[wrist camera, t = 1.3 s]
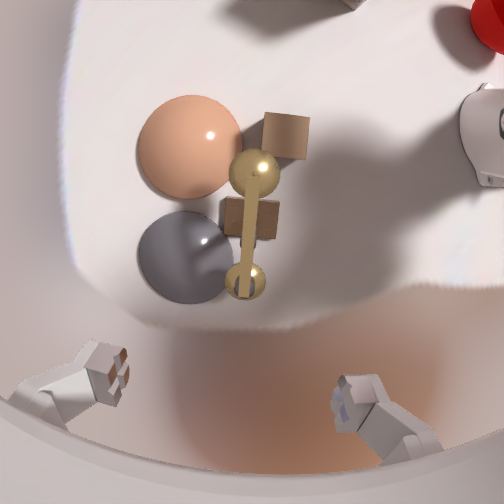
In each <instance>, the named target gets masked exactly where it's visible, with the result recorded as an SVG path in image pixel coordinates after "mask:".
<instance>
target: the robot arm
mask: <svg viewBox="0 0 504 504" xmlns="http://www.w3.org/2000/svg"><path fill="white" fill-rule="evenodd" d="M460 134H461V139H462V143H463V146H464V149H465V152H466V154H467V156H468V158H469V160H470V161H471V163H472V164H473V166H474V168H475V170H476V174H477V178H478V181H479V184H480V185H482V186H494V187H504V89H496V88H495V87H494V86H493V85H492V84H490V83H484V84H483V85H482V86H481V88H480V90H479V91H477V92H474V93H472V94H470V95H469V96H468V97H467V98H466V99H465V101H464V103H463V105H462V108H461V112H460ZM126 358H127V351H126V349H125V348H122V347H118V346H115V345H111V344H108V343H104V342H100V341H96V340H93V339H90V340H88V341H87V342H86V344H85V345H84V346H83V348H82V349H81V351H80V352H79V353H78V355H77V356H76V357H75V359H74V360H73V361H72V363H66V364H63V365H61V366H58V367H56V368H53V369H51V370H49V371H46V372H44V373H41V374H39V375H36V376H34V377H32V378H29V379H26V380H24V381H22V382H21V384H20V385H19V386H18V387H17V389H16V390H15V391H14V393H13V394H12V395H11V397H10V398H9V400H8V401H7V400H6V399H4V398H3V397H1V396H0V504H504V429H499V430H496V431H494V432H492V433H490V434H487V435H485V436H482V437H480V438H478V439H475V440H473V441H470V442H467V443H465V444H462V445H459V446H456V447H453V448H450V449H447V450H445V451H444V449H443V447H442V445H441V443H440V441H439V439H438V437H437V435H436V433H435V431H434V429H432V428H431V427H429V426H428V425H427V424H425V423H424V422H422V421H420V420H419V419H418V418H416V417H415V416H414V415H412V414H411V413H409V412H408V411H406V410H405V409H404V408H402V407H401V406H399V405H398V404H397V403H395V402H391V401H390V399H389V397H388V395H387V393H386V391H385V389H384V386H383V384H382V383H381V381H380V378H379V376H378V375H377V374H366V375H341V376H340V377H339V380H338V387H337V388H336V389H334V391H333V393H332V395H331V402H330V403H331V410H332V412H333V413H334V414H335V415H336V418H335V419H334V422H335V426H336V430H337V433H348V432H357V434H358V435H359V436H360V437H361V438H362V439H363V440H364V441H365V442H366V443H367V444H368V445H369V446H370V447H371V448H372V449H373V450H374V451H375V453H376V454H377V455H378V456H379V457H380V458H381V459H382V460H383V462H382V463H381V464H380V465H379V466H378V467H374V468H367V469H361V470H353V471H345V472H335V473H323V474H304V475H264V474H244V473H233V472H223V471H214V470H206V469H200V468H193V467H187V466H182V465H176V464H171V463H166V462H162V461H158V460H153V459H149V458H145V457H141V456H138V455H134V454H130V453H127V452H124V451H120V450H117V449H113V448H111V447H108V446H105V445H102V444H99V443H96V442H93V441H91V440H88V439H86V438H83V437H80V436H78V435H75V434H73V433H71V432H69V431H68V429H67V427H66V425H65V423H67V422H68V421H70V420H71V419H73V418H74V417H76V416H77V415H79V414H80V413H82V412H83V411H85V410H86V409H88V408H89V407H91V406H92V405H94V404H95V403H97V402H100V403H103V404H107V405H110V406H114V407H117V404H118V402H119V400H120V398H121V396H122V394H121V389H123V388H125V387H126V385H127V383H128V379H129V365H128V363H127V362H126V361H125V360H126Z"/></svg>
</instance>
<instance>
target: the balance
mask: <svg viewBox="0 0 504 504" xmlns="http://www.w3.org/2000/svg"><path fill="white" fill-rule="evenodd" d="M279 179H280V168H279V165H278V163H277V161H276V159H275V158H274V157H273V156H272V155H271V154H270V153H268V152H267V151H264V150H262V149H255V148H253V149H247V150H244V151H242V152H240V153H239V154H237V155H236V156H235V158H234V159H233V160H232V162H231V164H230V167H229V180H230V183H231V185H232V187H233V189H234V190H235V191H236V192H237V193H238V194H240V195H241V196H243V197H245V198H241V197H229V196H227V197H226V205H225V220H224V234H225V235H236V236H241V239H240V247H241V262H240V263H237V264H235V265H233V266H232V267H231V268H230V269H229V270H228V271H227V274H226V277H225V286H226V289H227V291H228V292H229V293H230V294H231V295H232V296H233V297H235V298H237V299H240V300H252V299H255V298H257V297H258V296H259V295H261V293H262V292H263V291H264V289H265V285H266V279H265V275H264V272H263V271H262V269H261V268H260V267H259V266H257V265H256V264H253V263H252V261H253V251H254V248H255V247H256V237H258V238H269V239H276V231H277V222H278V213H279V204H280V202H279V201H274V200H263V199H259V198H263V197H265V196H267V195H269V194H270V193H272V192H273V191H274V189H275V188H276V187H277V185H278V183H279Z"/></svg>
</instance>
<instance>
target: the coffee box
mask: <svg viewBox="0 0 504 504" xmlns="http://www.w3.org/2000/svg"><path fill="white" fill-rule="evenodd" d="M341 1H342V2H343V3H345V4H346V5H347V6H349V7H350V8H351V9H353V10H356V9H357V8H358V7H359V6H360V5H362V4H363V3H364V2H365V1H366V0H341Z"/></svg>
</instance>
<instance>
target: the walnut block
mask: <svg viewBox="0 0 504 504" xmlns="http://www.w3.org/2000/svg"><path fill="white" fill-rule="evenodd" d="M309 121H310V117H304V116H297V115H289V114H280V113H270V112H265V115H264V125H263V136H262V147H261V149H262V150H264V151H267V152H268V153H270V154H271V155H272V156H273V157H283V158H291V159H300V160H306V152H307V142H308V132H309Z"/></svg>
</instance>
